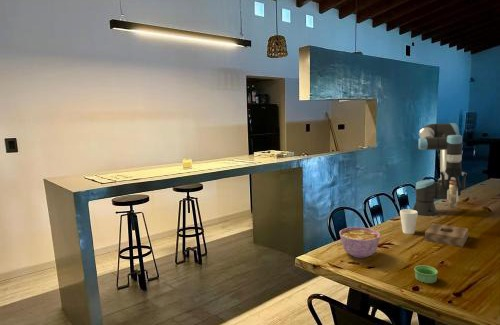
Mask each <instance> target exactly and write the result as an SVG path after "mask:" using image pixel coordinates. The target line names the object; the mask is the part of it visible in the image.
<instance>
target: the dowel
mask: <svg viewBox="0 0 500 325" xmlns="http://www.w3.org/2000/svg"><path fill="white" fill-rule="evenodd" d="M456 191H457V183H456V180H450V182H449V201H448V208H450V209H457V207H458V206H457V204H458V203H457V202H456Z"/></svg>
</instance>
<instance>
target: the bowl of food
mask: <svg viewBox="0 0 500 325" xmlns="http://www.w3.org/2000/svg"><path fill="white" fill-rule="evenodd" d="M339 236H340V240H341V244H342V247H343V250H345V252H346V253H347V254H348V255H350V256H352V257H354V258H357V257H358V259H365V258H368V257H369V256H372V255H375V253H376V252H377V248H378V246H379V242H380V238H381V233H380V232H379V231H377V230H376V229H372V228H370V227H369V228H368V227H362V226H352V227H351V226H350V227H346V228H343V229H341V230H339Z"/></svg>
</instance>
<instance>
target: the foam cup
mask: <svg viewBox="0 0 500 325" xmlns="http://www.w3.org/2000/svg"><path fill="white" fill-rule="evenodd" d="M399 215H400V222H401V230H402V233H403V234H406V235H414V234H415V232H416V226H417V220H418V212H417V211H415V210H413V209H408V208H407V209H406V208H404V209H401V210H400V211H399Z"/></svg>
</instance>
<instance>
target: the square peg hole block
mask: <svg viewBox="0 0 500 325" xmlns="http://www.w3.org/2000/svg"><path fill="white" fill-rule="evenodd" d="M468 237H469V228H467V227H460V226H454V225H448V224H447V225H446V224H439V223H433V222H432V223H431V225H430V226H429V227H427V229H426V230H425V232H424V241H426V242H431V243H437V244H442V245H448V246H453V247H460V248H464V245H465V244H466V242H467V239H468Z"/></svg>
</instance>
